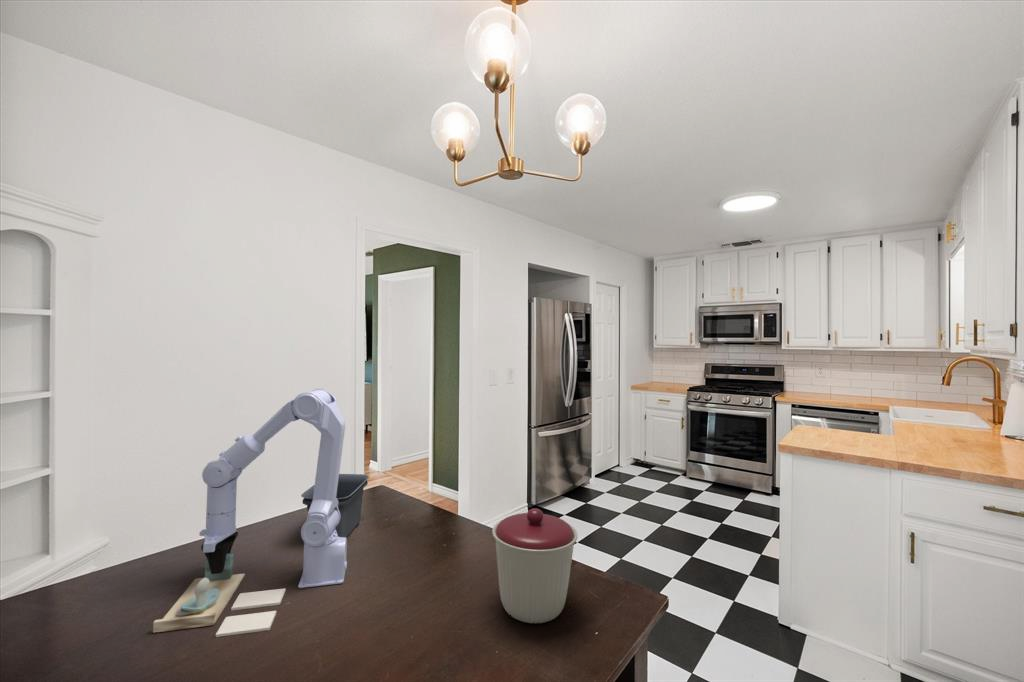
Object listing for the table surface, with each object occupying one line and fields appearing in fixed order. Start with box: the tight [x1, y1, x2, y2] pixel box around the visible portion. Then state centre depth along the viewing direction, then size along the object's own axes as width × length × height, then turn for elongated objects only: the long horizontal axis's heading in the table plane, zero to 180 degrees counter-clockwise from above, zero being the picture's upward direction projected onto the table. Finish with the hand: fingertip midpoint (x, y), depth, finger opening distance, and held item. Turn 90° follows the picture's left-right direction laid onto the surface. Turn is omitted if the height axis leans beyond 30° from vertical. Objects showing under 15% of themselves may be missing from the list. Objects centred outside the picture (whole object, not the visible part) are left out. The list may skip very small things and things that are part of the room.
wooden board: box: [152, 552, 246, 634], centre depth 93 cm, size 10×19×5 cm, turn 16°
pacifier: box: [176, 577, 220, 616], centre depth 90 cm, size 7×6×6 cm
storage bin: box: [301, 473, 370, 539], centre depth 128 cm, size 21×16×14 cm
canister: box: [491, 508, 578, 624], centre depth 94 cm, size 18×18×21 cm
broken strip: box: [215, 588, 286, 638], centre depth 90 cm, size 9×14×1 cm, turn 16°
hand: (219, 570), depth 101 cm, fingers closed on wooden board, 2 cm apart
